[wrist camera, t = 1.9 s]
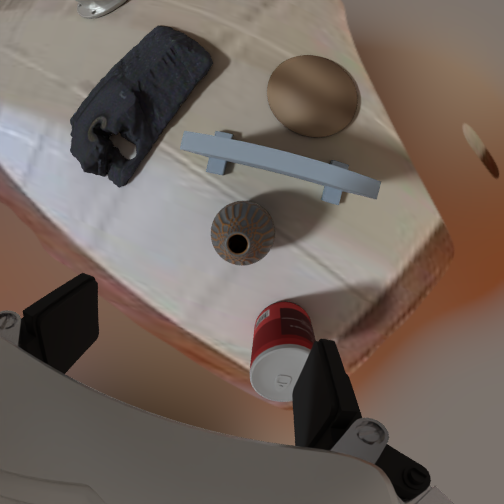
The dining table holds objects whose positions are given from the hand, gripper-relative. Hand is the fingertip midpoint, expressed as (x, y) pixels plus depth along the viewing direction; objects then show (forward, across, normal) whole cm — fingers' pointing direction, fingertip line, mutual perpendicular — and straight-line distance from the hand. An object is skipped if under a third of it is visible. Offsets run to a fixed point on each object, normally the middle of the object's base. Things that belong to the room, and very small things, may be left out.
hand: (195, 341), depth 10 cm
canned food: (+24, -8, +12) cm, 28 cm away
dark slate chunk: (+25, +18, -14) cm, 34 cm away
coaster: (+24, -4, -18) cm, 30 cm away
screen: (+24, -2, -8) cm, 26 cm away
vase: (+24, 0, 0) cm, 24 cm away
